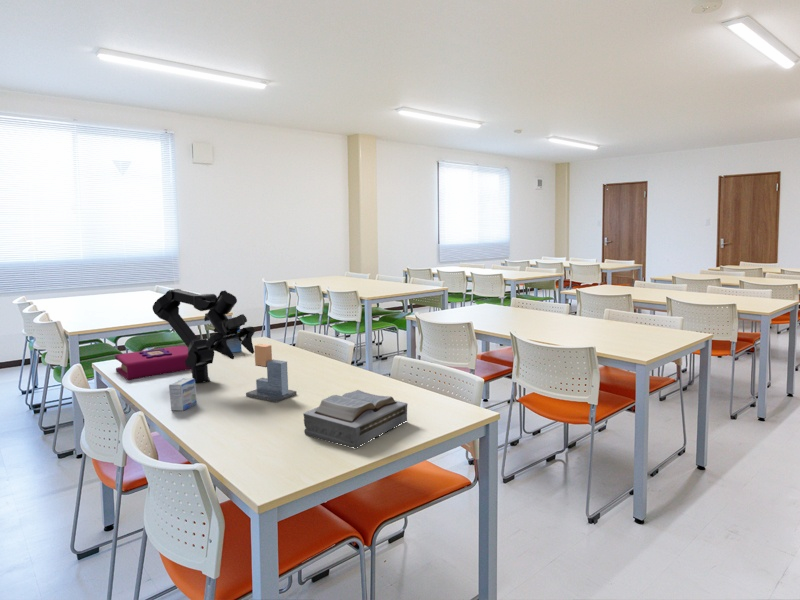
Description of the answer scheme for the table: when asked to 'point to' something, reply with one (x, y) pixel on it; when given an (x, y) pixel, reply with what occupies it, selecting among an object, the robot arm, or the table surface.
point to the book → (152, 362)
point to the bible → (354, 418)
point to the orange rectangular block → (262, 354)
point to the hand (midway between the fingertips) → (243, 355)
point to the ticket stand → (273, 383)
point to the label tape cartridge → (234, 344)
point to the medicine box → (182, 394)
